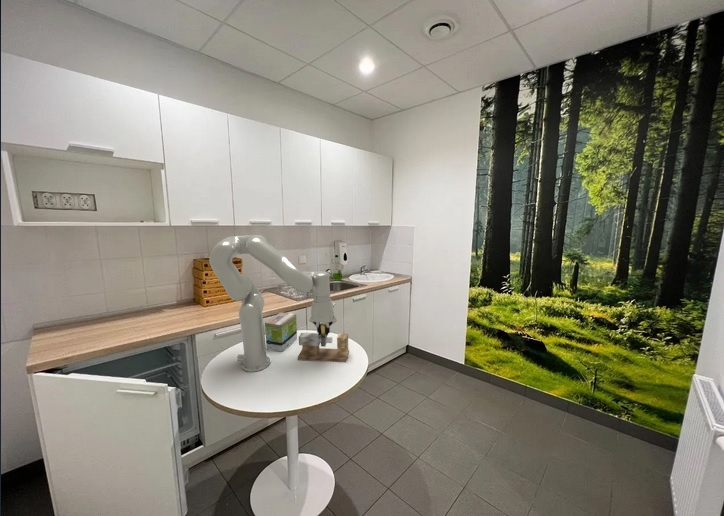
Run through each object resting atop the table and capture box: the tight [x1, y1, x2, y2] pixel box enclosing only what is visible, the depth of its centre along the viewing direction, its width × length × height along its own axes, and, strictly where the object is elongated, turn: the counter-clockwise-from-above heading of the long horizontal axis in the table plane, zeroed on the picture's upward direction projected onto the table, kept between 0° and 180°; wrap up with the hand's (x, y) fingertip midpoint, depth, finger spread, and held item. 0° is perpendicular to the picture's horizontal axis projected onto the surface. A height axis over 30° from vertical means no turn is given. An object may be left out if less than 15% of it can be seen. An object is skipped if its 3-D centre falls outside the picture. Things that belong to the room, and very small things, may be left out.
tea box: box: [264, 311, 298, 353], centre depth 156 cm, size 15×10×15 cm
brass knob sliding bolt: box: [319, 322, 333, 347], centre depth 143 cm, size 14×4×10 cm, turn 84°
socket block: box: [336, 332, 350, 357], centre depth 143 cm, size 4×5×10 cm
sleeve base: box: [297, 332, 350, 363], centre depth 144 cm, size 24×9×11 cm, turn 84°
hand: (323, 333), depth 142 cm, fingers closed on brass knob sliding bolt, 3 cm apart
